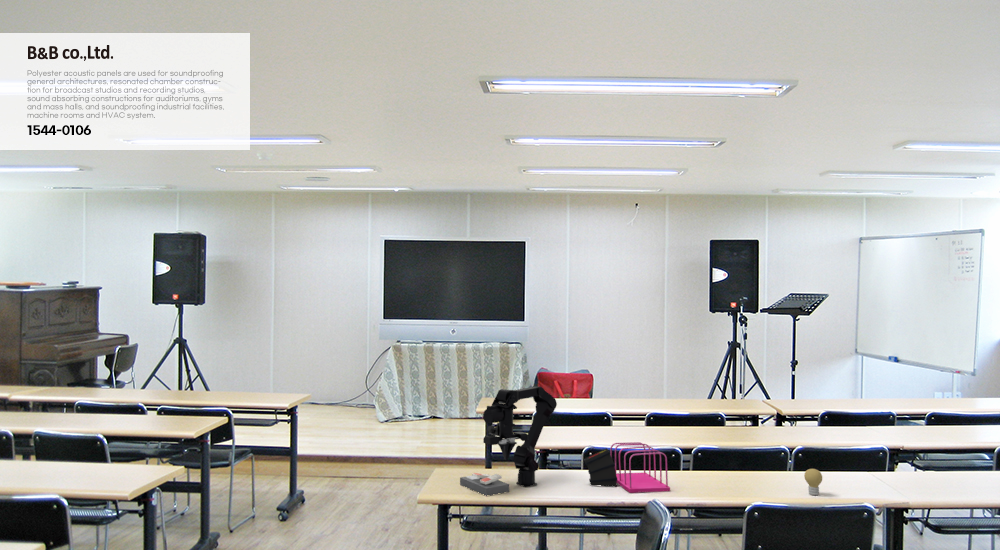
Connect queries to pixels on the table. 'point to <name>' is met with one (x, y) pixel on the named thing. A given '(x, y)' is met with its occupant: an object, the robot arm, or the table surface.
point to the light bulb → (813, 480)
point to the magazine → (601, 469)
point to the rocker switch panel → (484, 489)
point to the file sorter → (640, 480)
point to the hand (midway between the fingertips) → (505, 459)
